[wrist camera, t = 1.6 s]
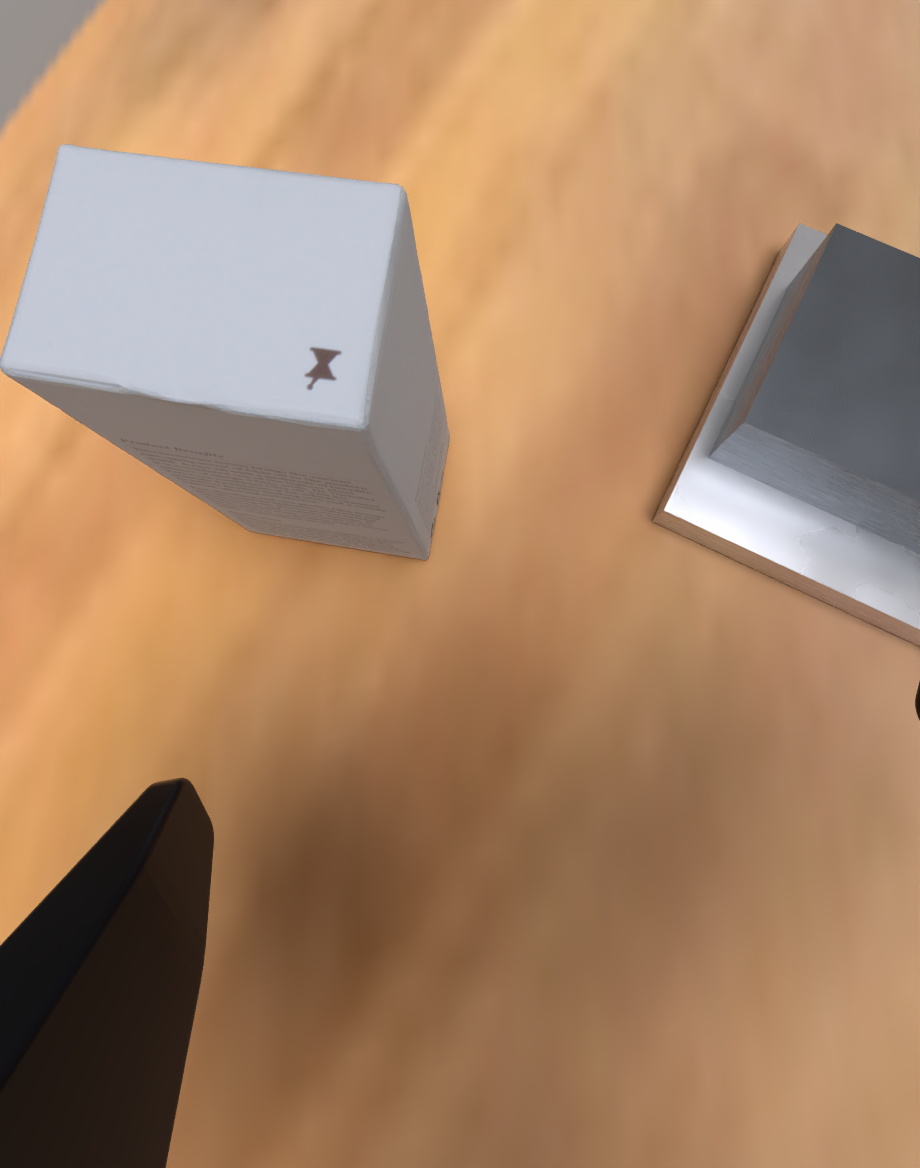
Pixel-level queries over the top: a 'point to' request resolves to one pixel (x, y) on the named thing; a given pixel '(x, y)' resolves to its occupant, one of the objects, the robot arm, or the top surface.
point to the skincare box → (242, 340)
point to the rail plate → (778, 518)
